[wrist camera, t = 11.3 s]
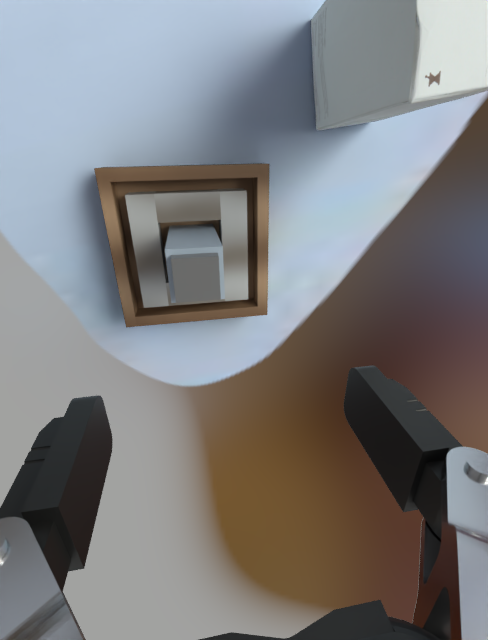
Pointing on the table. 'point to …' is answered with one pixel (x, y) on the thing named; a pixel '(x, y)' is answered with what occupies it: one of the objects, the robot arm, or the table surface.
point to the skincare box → (395, 57)
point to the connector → (194, 263)
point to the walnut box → (186, 209)
